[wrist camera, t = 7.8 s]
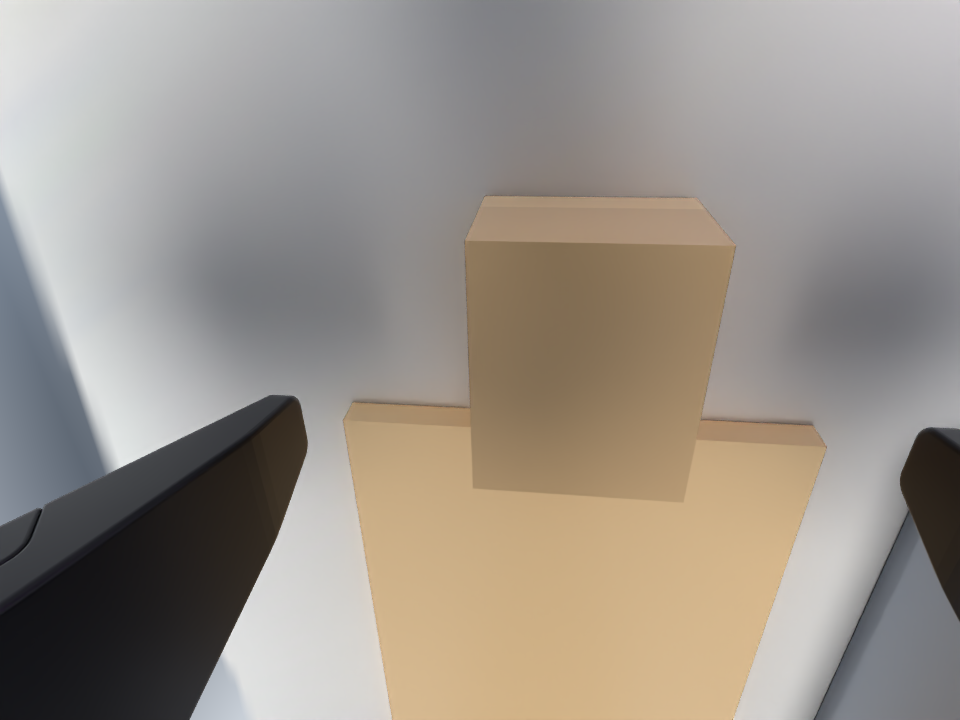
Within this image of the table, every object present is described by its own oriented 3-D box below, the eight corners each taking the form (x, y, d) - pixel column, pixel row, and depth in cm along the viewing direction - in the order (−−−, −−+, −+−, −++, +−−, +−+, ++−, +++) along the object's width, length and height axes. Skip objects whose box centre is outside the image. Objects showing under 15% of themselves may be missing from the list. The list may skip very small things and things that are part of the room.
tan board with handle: (702, 767, 20) (721, 868, 18) (403, 732, 21) (383, 822, 19) (885, 199, 11) (981, 250, 8) (322, 193, 12) (260, 236, 9)
